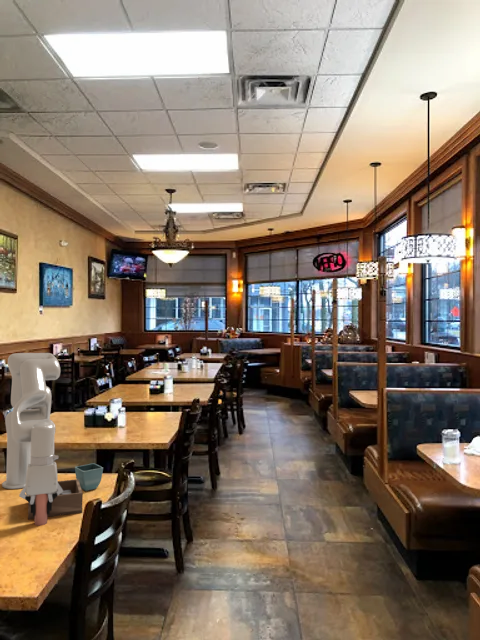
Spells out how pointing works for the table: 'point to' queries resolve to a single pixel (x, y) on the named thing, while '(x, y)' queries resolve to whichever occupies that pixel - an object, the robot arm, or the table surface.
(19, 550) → the table surface
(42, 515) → the peg
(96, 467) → the flower pot
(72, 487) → the open box
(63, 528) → the table surface
